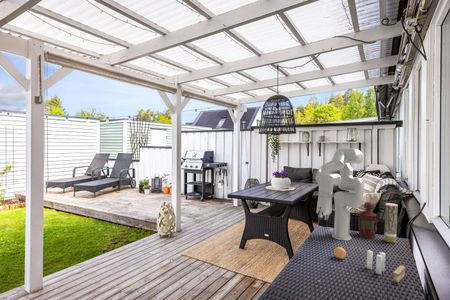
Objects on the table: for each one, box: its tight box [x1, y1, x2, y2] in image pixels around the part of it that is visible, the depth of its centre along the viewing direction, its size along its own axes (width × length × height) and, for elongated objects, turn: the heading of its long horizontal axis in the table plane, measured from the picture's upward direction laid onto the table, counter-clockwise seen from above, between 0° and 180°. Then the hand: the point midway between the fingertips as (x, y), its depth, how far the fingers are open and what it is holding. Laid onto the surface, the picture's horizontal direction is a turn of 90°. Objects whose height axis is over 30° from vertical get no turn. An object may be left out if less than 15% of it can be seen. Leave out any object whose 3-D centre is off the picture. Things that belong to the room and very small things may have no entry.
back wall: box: [392, 264, 406, 284], centre depth 122 cm, size 2×12×4 cm, turn 133°
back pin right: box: [375, 254, 383, 275], centre depth 126 cm, size 2×2×8 cm
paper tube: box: [383, 202, 399, 244], centre depth 174 cm, size 7×7×25 cm
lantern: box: [357, 193, 378, 240], centre depth 183 cm, size 12×12×30 cm
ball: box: [333, 246, 347, 259], centre depth 143 cm, size 6×6×6 cm
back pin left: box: [379, 251, 386, 272], centre depth 130 cm, size 2×2×8 cm
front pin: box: [366, 249, 374, 270], centre depth 132 cm, size 2×2×8 cm
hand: (324, 226), depth 149 cm, fingers closed
